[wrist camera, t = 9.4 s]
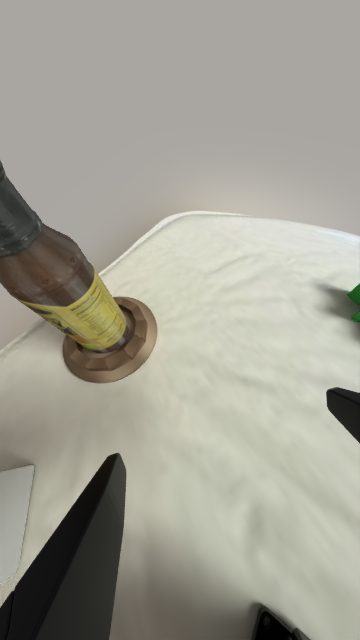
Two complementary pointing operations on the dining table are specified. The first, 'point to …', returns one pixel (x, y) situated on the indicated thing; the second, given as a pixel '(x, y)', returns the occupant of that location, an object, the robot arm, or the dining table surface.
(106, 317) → the sauce bottle
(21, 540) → the milk carton
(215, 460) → the dining table surface
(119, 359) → the ring holder
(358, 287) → the pipe clamp
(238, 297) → the dining table surface
